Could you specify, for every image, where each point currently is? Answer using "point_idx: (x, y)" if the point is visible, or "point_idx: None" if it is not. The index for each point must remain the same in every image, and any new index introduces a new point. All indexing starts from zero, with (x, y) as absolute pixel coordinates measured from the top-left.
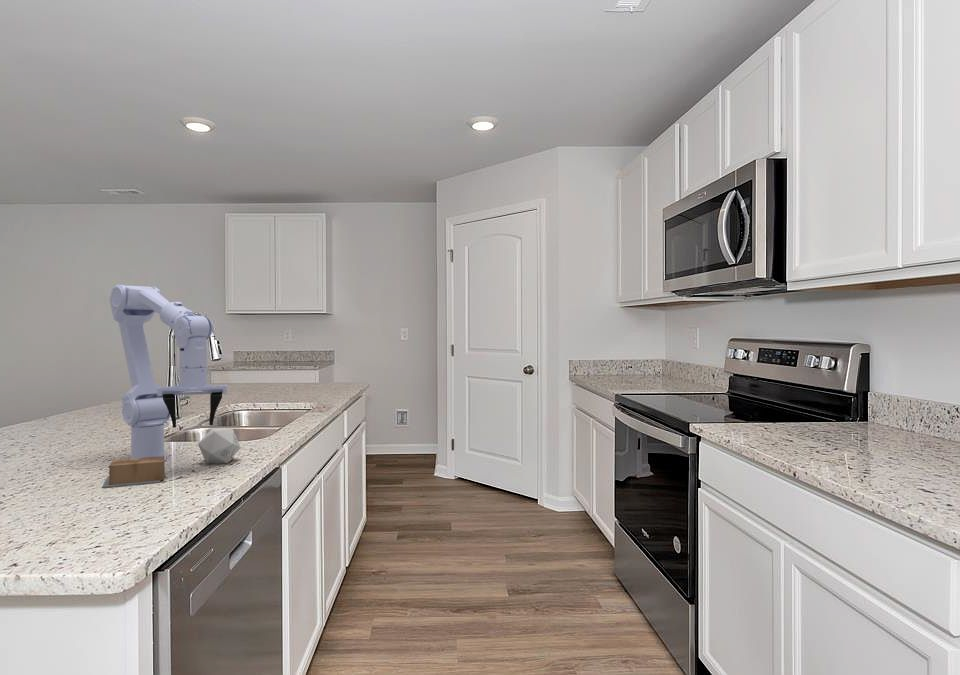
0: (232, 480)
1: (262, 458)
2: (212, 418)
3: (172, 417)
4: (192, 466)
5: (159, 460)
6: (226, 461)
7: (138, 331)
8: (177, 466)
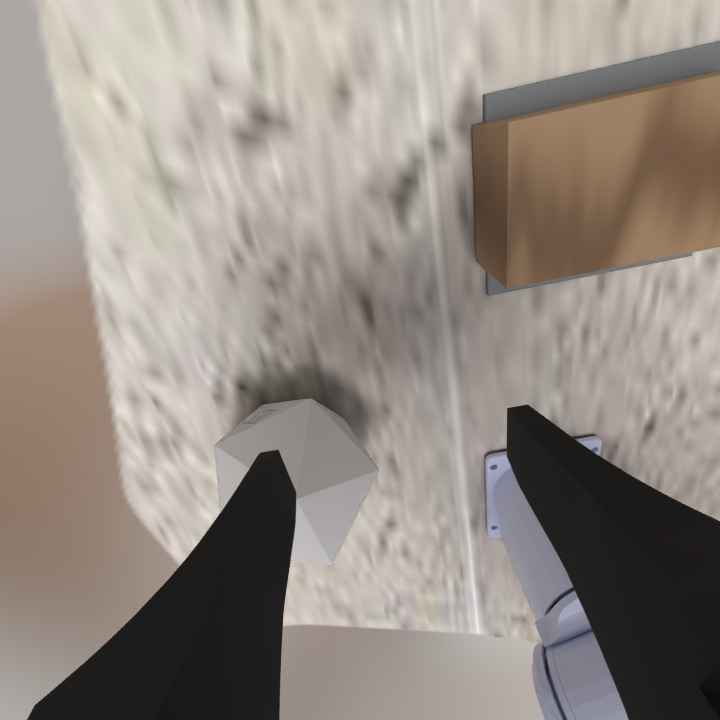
0: (116, 46)
1: (152, 450)
2: (245, 487)
3: (577, 451)
4: (384, 379)
5: (531, 160)
6: (264, 405)
7: None
8: (438, 389)
